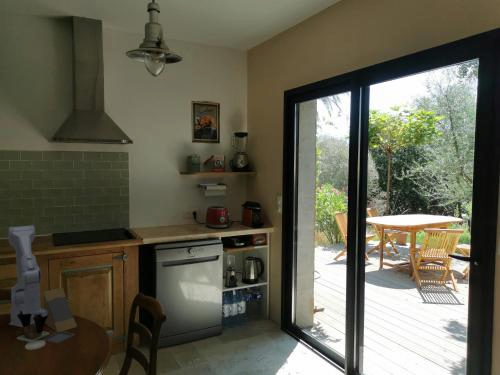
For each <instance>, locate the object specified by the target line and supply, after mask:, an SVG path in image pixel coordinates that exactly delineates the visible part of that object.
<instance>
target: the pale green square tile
mask: <svg viewBox="0 0 500 375" xmlns="http://www.w3.org/2000/svg"><path fill="white" fill-rule="evenodd" d="M48 336H50V332H47V331H44V330H43V332H42V336H39V337H37V338H35V339H33V340H31V339H27V338H25V333H24V334H23V335H22V334H21V335H19V336H17V337H16V340H19V341H23V342H27V343H29V342H32V341H36V340H42V339H44V338H46V337H48Z"/></svg>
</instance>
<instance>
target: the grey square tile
mask: <svg viewBox="0 0 500 375" xmlns="http://www.w3.org/2000/svg"><path fill="white" fill-rule="evenodd" d="M75 336H76V334H75V333H71V332H68V331H59V332H57V331H56V332H54V333H53V334H51V335H50V334H49V335H47V336H45V337H43V338H42V340H44V341H45V342H47V343H51V344H55V345H59V344H61V343H63V342H65V341H68V340H70V339H72V338H73V337H75Z"/></svg>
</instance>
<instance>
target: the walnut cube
mask: <svg viewBox="0 0 500 375" xmlns="http://www.w3.org/2000/svg"><path fill="white" fill-rule="evenodd" d="M23 332H24V334H25V338H27V339H31V340H33V339H35V338H37V337H39V336H42V332H41V333H37V331H36V324H35V323H33V324H31V325H28V326H26V327H24V329H23Z"/></svg>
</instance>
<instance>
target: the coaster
mask: <svg viewBox="0 0 500 375" xmlns="http://www.w3.org/2000/svg"><path fill="white" fill-rule="evenodd" d="M45 346H46V341H44V340H43V339H38V340H36V341H32V342H27V343H26V344H25V345H24V349H25V350H28V351H34V350H37V349H38V350H39V349H40V348H43V347H45Z"/></svg>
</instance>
